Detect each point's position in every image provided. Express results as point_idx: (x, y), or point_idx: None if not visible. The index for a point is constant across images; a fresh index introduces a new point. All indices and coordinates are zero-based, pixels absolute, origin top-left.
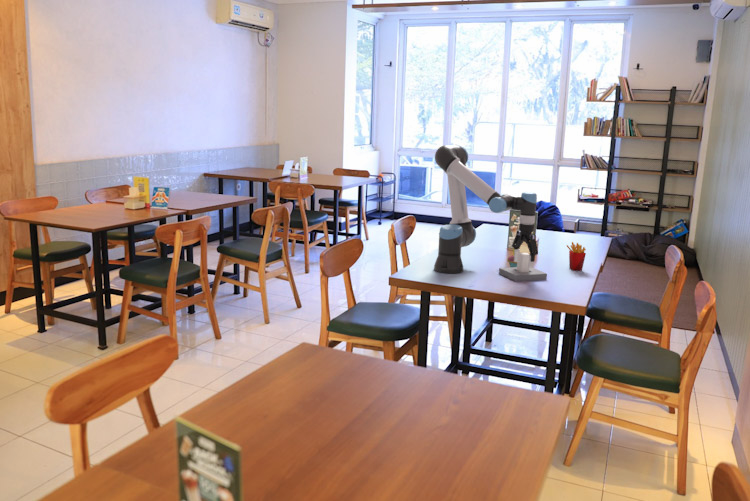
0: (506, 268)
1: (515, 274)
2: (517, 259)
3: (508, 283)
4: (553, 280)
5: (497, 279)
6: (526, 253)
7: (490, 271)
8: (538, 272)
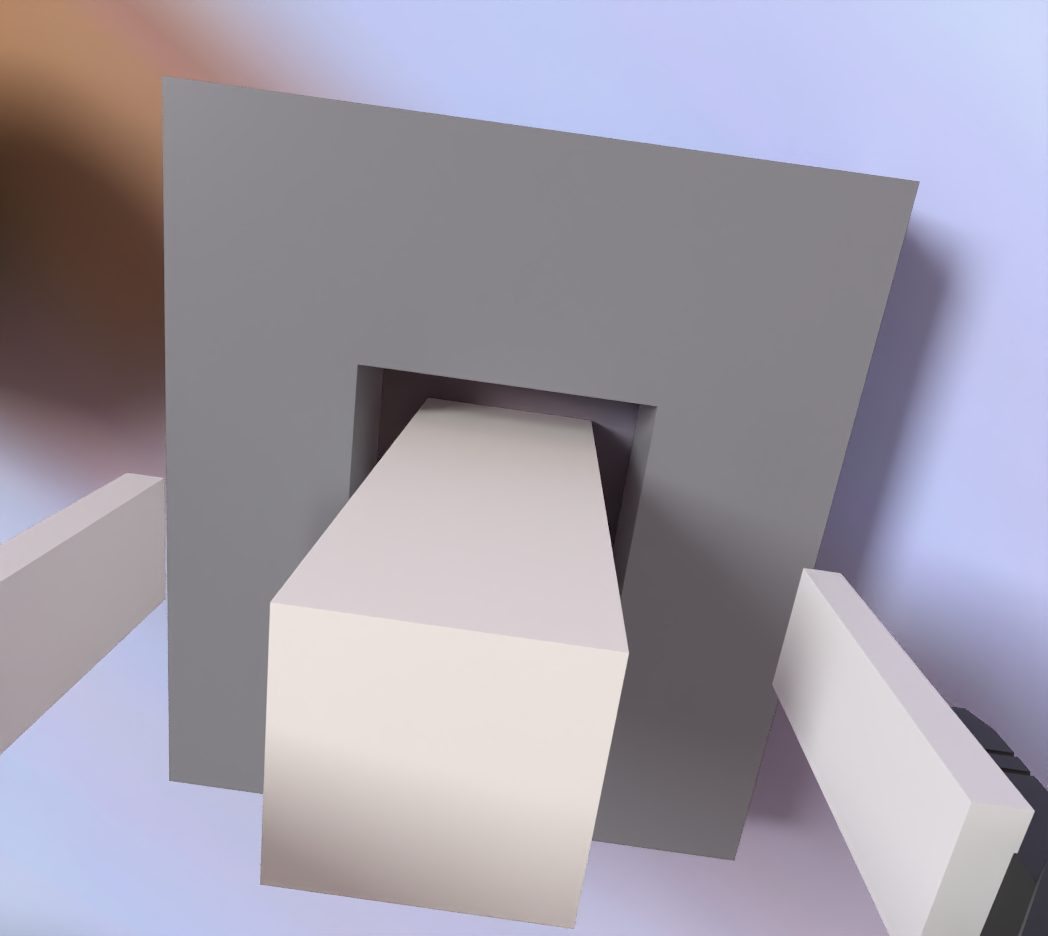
0: (233, 692)
1: (678, 829)
2: (134, 545)
3: (761, 933)
4: (991, 92)
5: (519, 929)
6: (439, 692)
7: (56, 742)
8: (741, 304)
